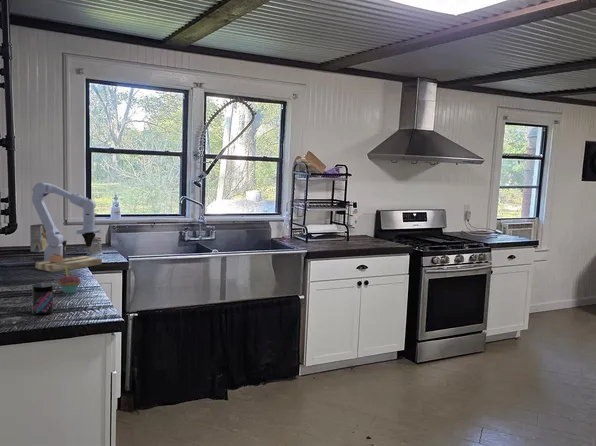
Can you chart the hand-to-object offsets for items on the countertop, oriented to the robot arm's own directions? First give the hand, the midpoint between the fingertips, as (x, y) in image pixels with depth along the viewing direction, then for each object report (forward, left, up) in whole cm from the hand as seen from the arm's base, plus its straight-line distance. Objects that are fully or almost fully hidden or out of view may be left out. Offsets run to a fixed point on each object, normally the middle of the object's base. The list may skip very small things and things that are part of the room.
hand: (88, 246), depth 284 cm
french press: (-23, +23, -10) cm, 34 cm away
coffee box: (-53, +8, -10) cm, 54 cm away
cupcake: (+47, -49, -10) cm, 69 cm away
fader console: (0, -12, -9) cm, 15 cm away
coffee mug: (-26, +2, -10) cm, 28 cm away
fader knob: (0, -20, -6) cm, 21 cm away
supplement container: (+67, -76, -10) cm, 102 cm away
